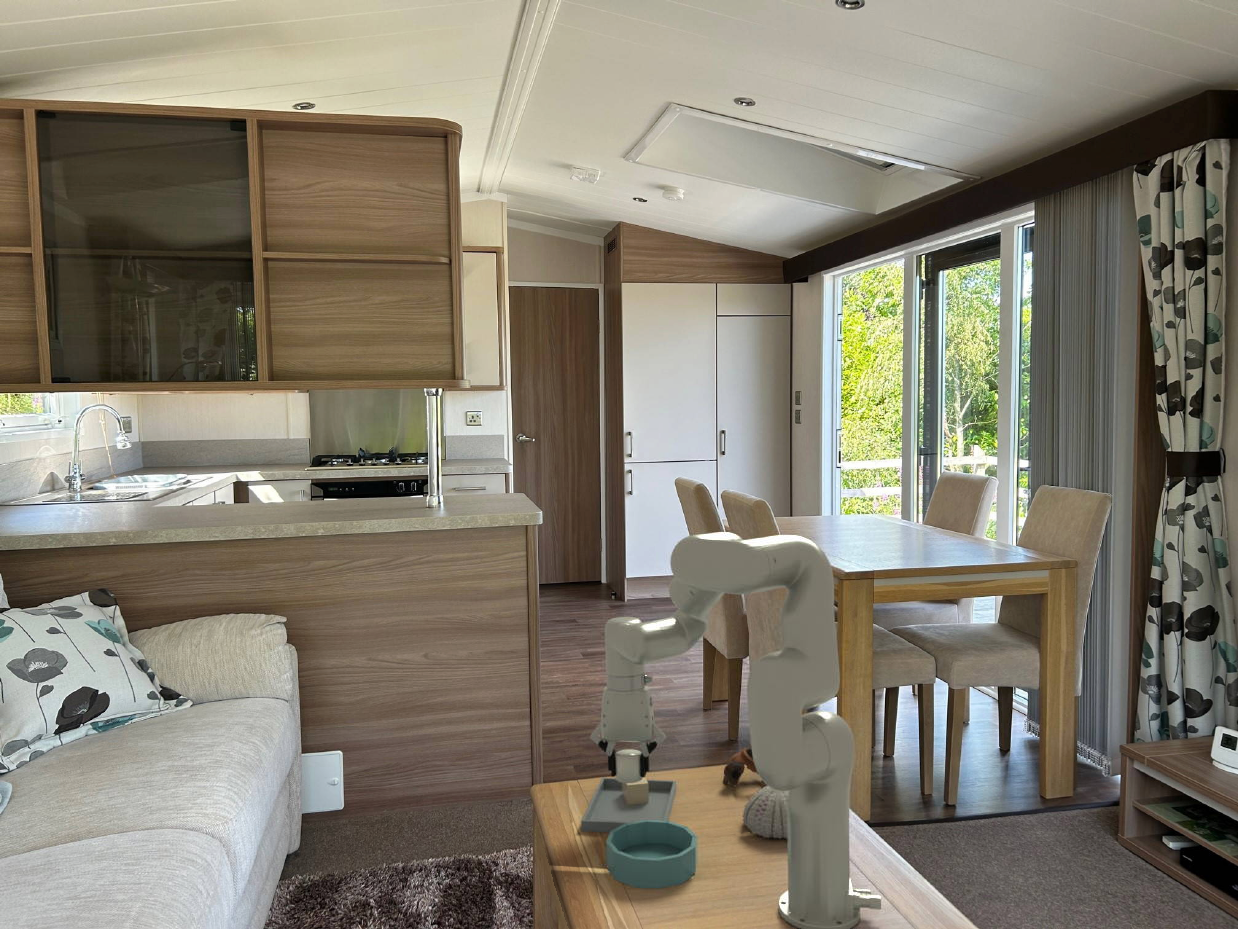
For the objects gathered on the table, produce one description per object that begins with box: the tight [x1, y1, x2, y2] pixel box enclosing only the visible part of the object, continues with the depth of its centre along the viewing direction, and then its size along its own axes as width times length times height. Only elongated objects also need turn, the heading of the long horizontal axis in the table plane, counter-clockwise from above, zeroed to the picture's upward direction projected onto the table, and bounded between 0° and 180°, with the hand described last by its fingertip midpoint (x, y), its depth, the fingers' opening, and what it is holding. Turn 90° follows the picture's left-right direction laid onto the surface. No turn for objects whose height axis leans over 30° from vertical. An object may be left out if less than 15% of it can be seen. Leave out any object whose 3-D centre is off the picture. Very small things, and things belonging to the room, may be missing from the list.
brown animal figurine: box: [722, 747, 768, 789], centre depth 195 cm, size 12×10×8 cm
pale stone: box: [615, 748, 643, 783], centre depth 176 cm, size 5×5×5 cm
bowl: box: [605, 820, 699, 890], centre depth 158 cm, size 16×16×5 cm
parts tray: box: [580, 777, 678, 833], centre depth 181 cm, size 16×22×2 cm
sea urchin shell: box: [742, 785, 789, 840], centre depth 173 cm, size 13×14×8 cm
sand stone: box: [622, 776, 649, 805], centre depth 187 cm, size 4×6×4 cm
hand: (629, 773), depth 176 cm, fingers closed on pale stone, 5 cm apart
